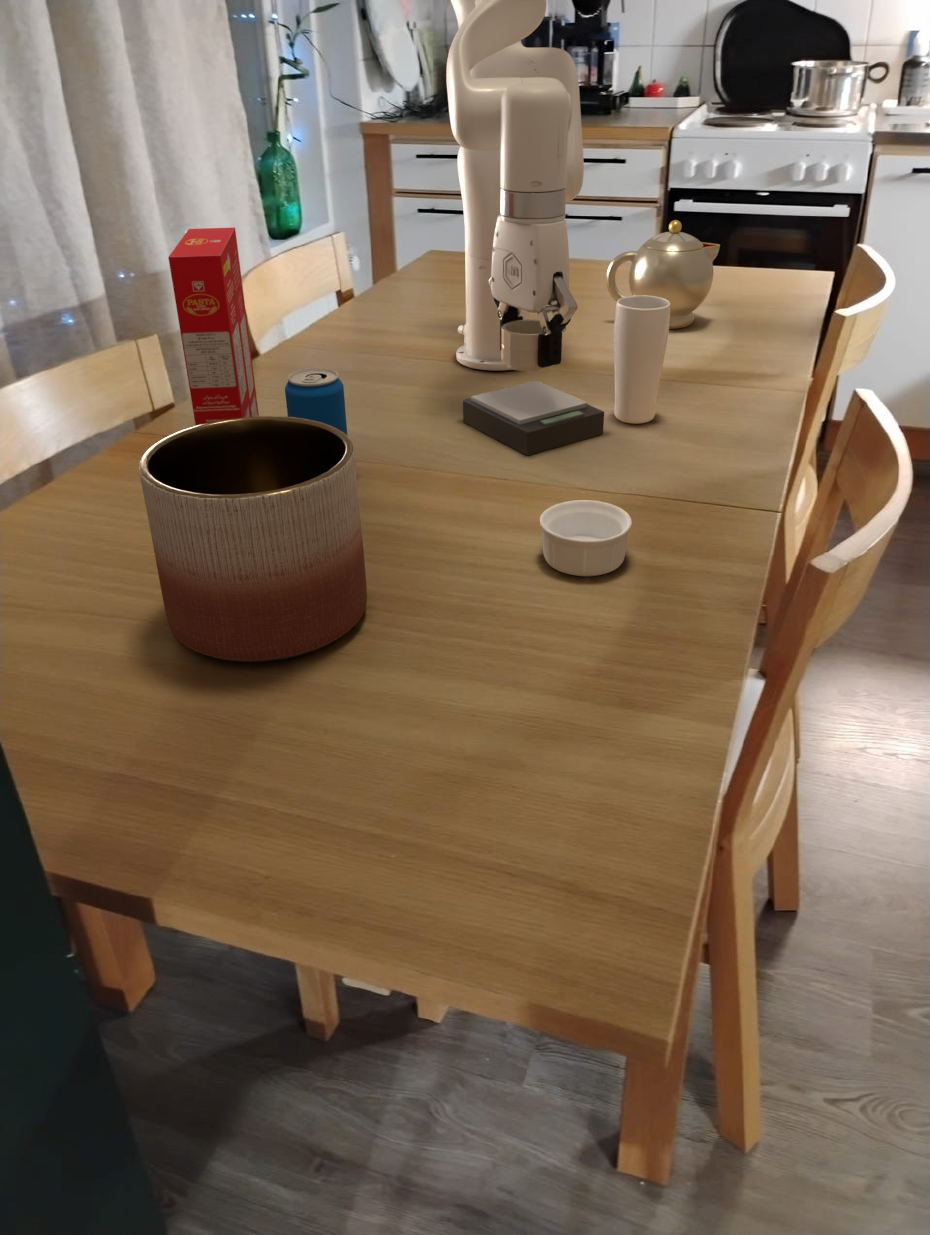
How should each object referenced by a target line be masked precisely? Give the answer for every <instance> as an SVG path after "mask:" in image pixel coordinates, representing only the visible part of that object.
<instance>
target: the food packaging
mask: <svg viewBox="0 0 930 1235" xmlns="http://www.w3.org/2000/svg"><path fill="white" fill-rule="evenodd" d="M167 259H168V263H169V264H168V265H169V270H170V276H171V282H172V289H173V296H174V300H175V308H176V313H177V320H178V325H179V333H180V339H181V344H182V352H183V356H184V362H185V369H186V375H187V380H188V381H187V382H188V386H189V387H188V389H189V394H190V400H191V405H192V413H193V420H194V425H195V426H198V425H202V424H206V423H210V422H215V421H220V420H226V419H233V418H241V417H254V416H260V413H259V406H258V397H257V391H256V390H257V389H256V382H255V376H254V367H253V359H252V358H253V357H252V351H251V343H250V335H249V327H248V320H247V319H248V318H247V310H246V303H245V294H244V287H243V278H242V270H241V263H240V256H239V248H238V239H237V232H236V227H208V228H188V229H187V231H186V232H185V233H184V235H183V236H182V237H181V239H180V240H179V242H178V243H177V244H176V246H175V247H174V249H173V250H172V251H171V253H170V254H169V256H168V258H167Z"/></svg>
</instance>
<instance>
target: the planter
mask: <svg viewBox="0 0 930 1235" xmlns="http://www.w3.org/2000/svg"><path fill="white" fill-rule="evenodd" d="M356 463H357V462H356V451H355V446H354V442H353V441H352V439H351V438H350V437H349V436H348V434H347V435H346V434H345V433H343V432H342V431H340V430H339V429H337V428H335V427H333V426H330V425H328V424H325V423H321V422H318V421H314V420H309V419H303V418H295V417H288V416H283V415H282V416H281V415H259V416H254V417H241V418H233V419H226V420H220V421H215V422H210V423H206V424H202V425H198V426H196V425H195V426H192V427H188V428H185V429H182V430H179V431H177V432H174V433H173V434H170V435H168V436H166V437H164V438H162V439H161V440H159V441H158V442H156V443H154V444H152V446H150V447H149V448H148V449H147V450H146V451H145V452H144V453H143V455H142V456H141V458H140V460H139V464H138V472H139V478H140V483H141V488H142V493H143V499H144V504H145V509H146V515H147V520H148V525H149V531H150V536H151V541H152V546H153V552H154V558H155V564H156V569H157V574H158V575H157V576H158V580H159V586H160V591H161V596H162V602H163V605H164V611H165V615H166V619H167V623H168V626H169V629H170V630H171V632H172V634H173V636H174V637H175V639H177V640H178V641H179V642H180V643H181V644H183V645H184V646H185V647H186V648H188V649H190V650H192V651H194V652H196V653H199V654H201V655H203V656H207V657H210V658H214V659H218V660H223V661H228V662H235V663H236V662H238V663H265V662H274V661H281V660H288V659H292V658H296V657H300V656H303V655H306V654H309V653H312V652H315V651H317V650H320V649H322V648H324V647H326V646H328V645H330V644H332V643H334V642H335V641H337V640H338V639H340V638H342V637H343V636H344V635H345V634H347V633H349V631H350V630H352V629H353V627H355V626H356V625H357V624H358V622H359V621H360V620H361V618H362V616H363V615H364V613H365V610H366V607H367V600H368V589H367V588H368V585H367V572H366V563H365V562H366V561H365V551H364V541H363V532H362V531H363V530H362V520H361V511H360V499H359V490H358V489H359V488H358V475H357V464H356Z"/></svg>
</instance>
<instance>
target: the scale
mask: <svg viewBox="0 0 930 1235" xmlns="http://www.w3.org/2000/svg"><path fill="white" fill-rule="evenodd" d="M462 422H463V423H465V424H466V425H469V426H470V427H473V428H474V429H476V430H477V431H480V432H482V433H484V434H485V435H487V436H489V437H491V438H492V439H495V440H497V441H498V442H501V443H503V444H504V445H507V446H508V447H510V448H512V449H514V450H516V451H517V452H520V453H521V454H523V455H524V456H527V457H528V456H532V455H535V454H538V453H542V452H546V451H549V450H552V449H556V448H559V447H562V446H566V445H569V444H570V445H571V444H574V443H577V442H581V441H585V440H587V439H591V438H595V437H597V436H601V435H604V425H605V424H604V422H605V411H604V410H603V409H602V410H601V409H600V408H597V407H594V406H592V405H590V404H589V403H588V402H587V401H585V400H583V399H581V398H578V397H576V396H573V395H571V394H569V393H567V392H565V391H562V390H560V389H557V388H555V387H553V386H551V385H548V384H545V383H544V382H542V381H539V380H533V381H528V382H525V383H521V384H516V385H513V386H508V387H503V388H500V389H496V390H492V391H487V392H483V393H479V394H475V395H471V397H469V398H465V399H463V400H462Z"/></svg>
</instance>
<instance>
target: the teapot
mask: <svg viewBox="0 0 930 1235" xmlns="http://www.w3.org/2000/svg"><path fill="white" fill-rule="evenodd" d="M682 227H683V226H682V222H681V221H679V220H678V219H674V220H671V221H670V222H669V224H668V230H669V231H665V232H661V233H658V234H656V235H654V236H652V237H650V238H648V239H647V240H646V241H645V242H644V243H643V244H641V246H640V247H639V248H638V250H632V251H631V250H630V251H625V252H622V253H620V254H618V255H617V256H616V257H614V258H613V259H612V260H611V262H610V263H609V265H608V267H607V270H606V275H605V278H606V279H605V284H606V288H607V291H608V293H609V295H610V297H611V298H612V299H613V301H615V302H617V301H618V300H619V299H620V298H623V297H627V295H624V294H622V293H621V292H620V290H619V288H618V287H617V282H616V274H617V270H618V269H619V267H620V266H621V265H622V264H624V263H627V262H631V263H630V266H629V271H628V285H629V290H630V293H631V296H638V295H644V296H655V297H660V298H664V299H666V300H668V301H669V302H670V304H671V305H670V323H669V330H676V329H684V328H686V327H688V326H690V325H692V324H693V322H694V319H695V316H694V313H693V312H694V311H695V310H697V309H698V308H699V307H700V306H701V305H702V304H703V302H705V300H706V298H707V297H708V295H709V293H710V291H711V289H712V285H713V281H714V264H713V263H714V260H715V259H716V258H717V256H718V254H719V251H720V249H721V248H720V247H721V244H719V243H713V242H704V241H700V240H699V239H698V238H696V237H695V236H693V235H691V234H689V233H686V232H683V231H681V230H682Z"/></svg>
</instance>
